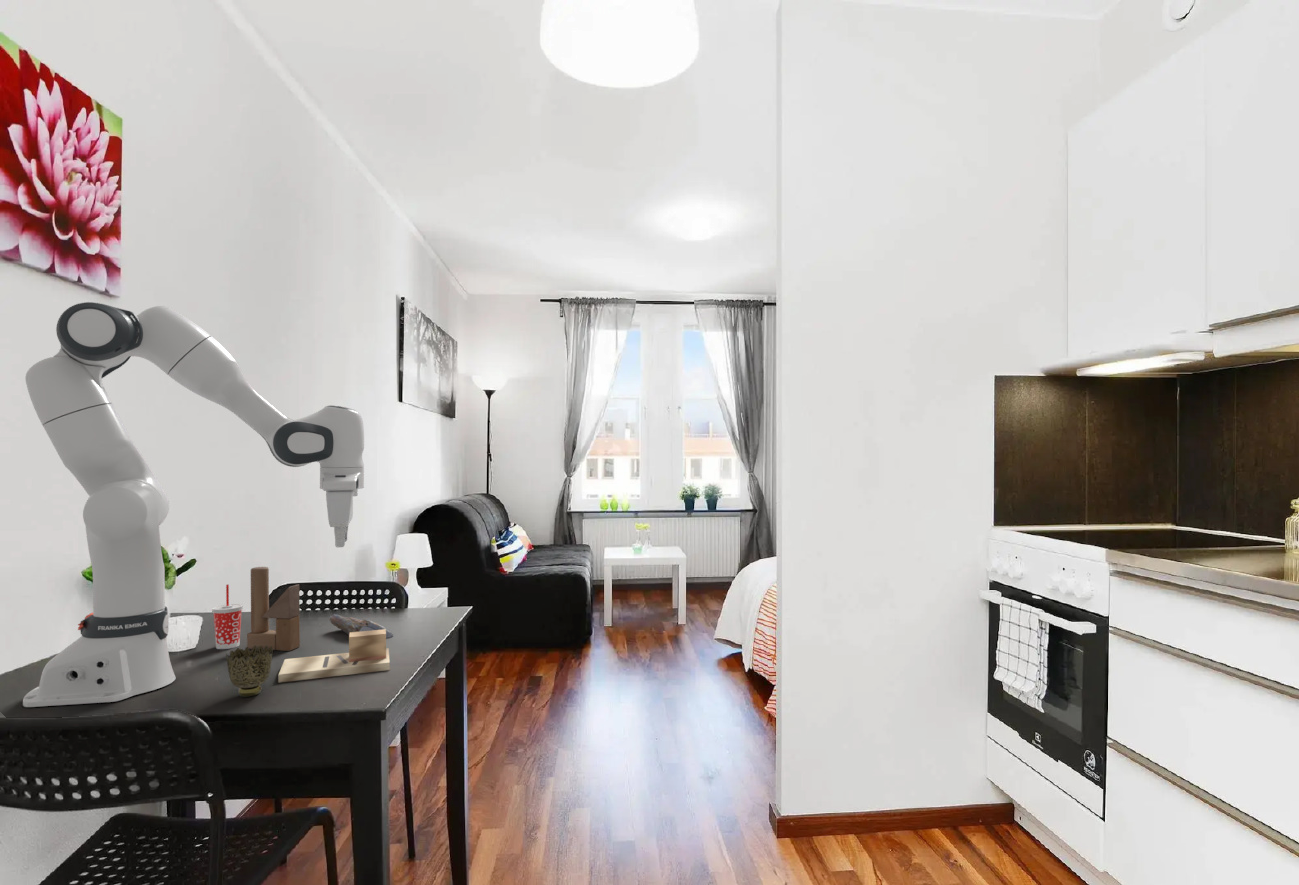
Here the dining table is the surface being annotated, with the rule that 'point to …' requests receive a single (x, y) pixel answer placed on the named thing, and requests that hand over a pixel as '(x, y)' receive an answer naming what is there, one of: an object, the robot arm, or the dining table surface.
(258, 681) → the cup
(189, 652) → the dining table surface
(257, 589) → the stacked wooden blocks
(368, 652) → the block
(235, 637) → the beverage cup
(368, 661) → the board
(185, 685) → the dining table surface
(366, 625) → the stone
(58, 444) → the robot arm
